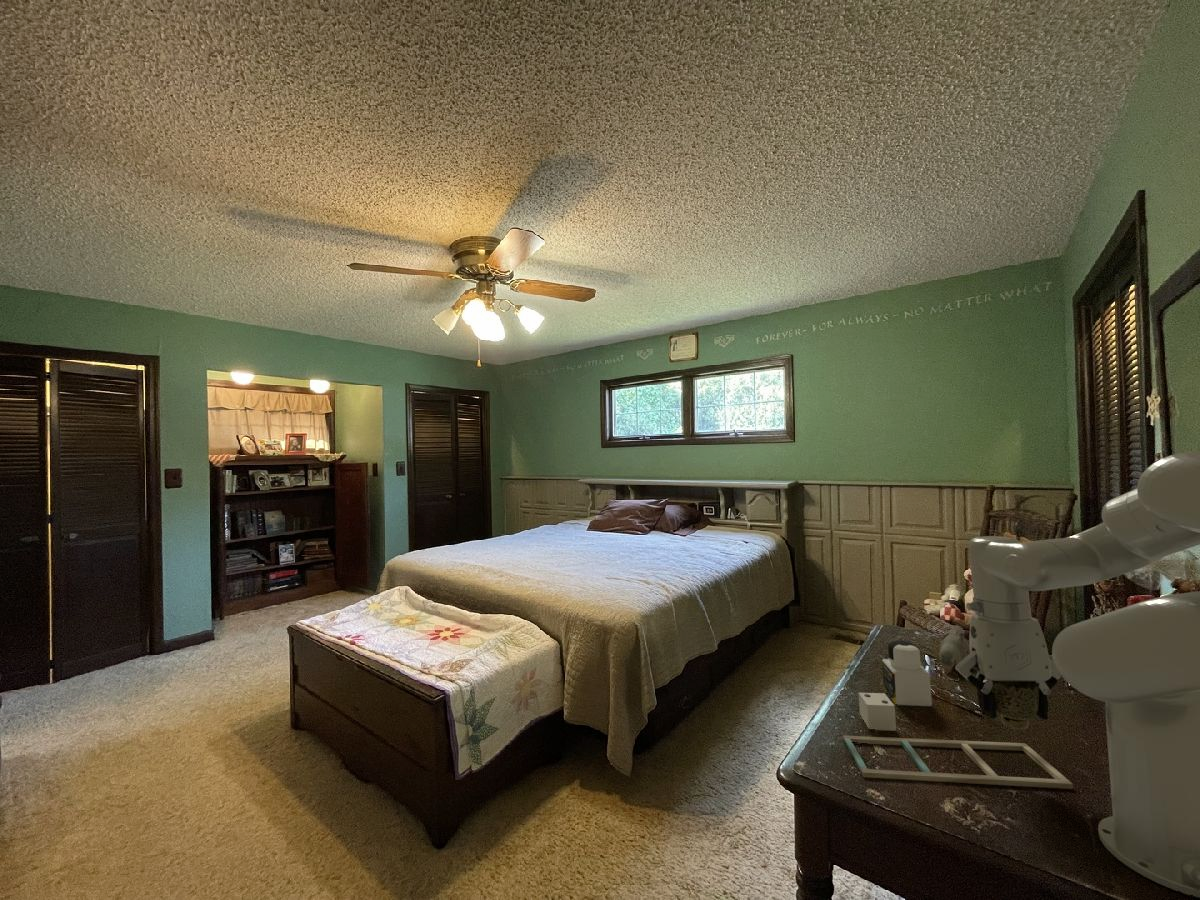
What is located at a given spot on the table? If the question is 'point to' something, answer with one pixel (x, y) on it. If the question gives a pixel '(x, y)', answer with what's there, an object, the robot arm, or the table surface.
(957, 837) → the table surface
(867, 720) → the die
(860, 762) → the ladder
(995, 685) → the dark patterned vase
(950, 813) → the table surface
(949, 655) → the decorative bird
